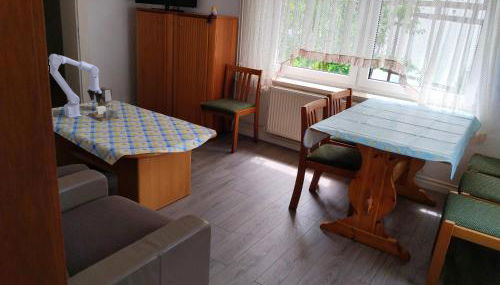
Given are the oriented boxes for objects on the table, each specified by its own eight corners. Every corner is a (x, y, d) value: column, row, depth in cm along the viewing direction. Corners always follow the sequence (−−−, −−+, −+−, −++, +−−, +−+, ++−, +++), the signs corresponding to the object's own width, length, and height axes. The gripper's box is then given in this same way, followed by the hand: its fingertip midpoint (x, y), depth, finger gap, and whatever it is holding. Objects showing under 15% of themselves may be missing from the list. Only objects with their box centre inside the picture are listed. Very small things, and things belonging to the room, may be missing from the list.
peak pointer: (95, 115, 273) (94, 112, 273) (94, 115, 274) (94, 112, 273) (97, 115, 275) (97, 111, 274) (97, 115, 275) (97, 111, 274)
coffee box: (112, 109, 297) (112, 89, 292) (105, 111, 292) (104, 90, 287) (104, 107, 302) (104, 87, 296) (97, 108, 296) (96, 88, 291)
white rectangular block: (94, 115, 274) (94, 108, 273) (92, 114, 276) (92, 107, 274) (105, 113, 281) (105, 106, 279) (103, 112, 282) (103, 105, 281)
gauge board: (102, 121, 268) (101, 113, 266) (88, 115, 278) (87, 107, 276) (118, 118, 278) (118, 110, 276) (104, 112, 288) (104, 104, 286)
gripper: (105, 83, 275) (105, 102, 280) (93, 80, 283) (94, 98, 288) (95, 84, 270) (96, 103, 274) (84, 81, 278) (85, 99, 283)
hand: (95, 101), depth 281 cm, fingers open, 7 cm apart
